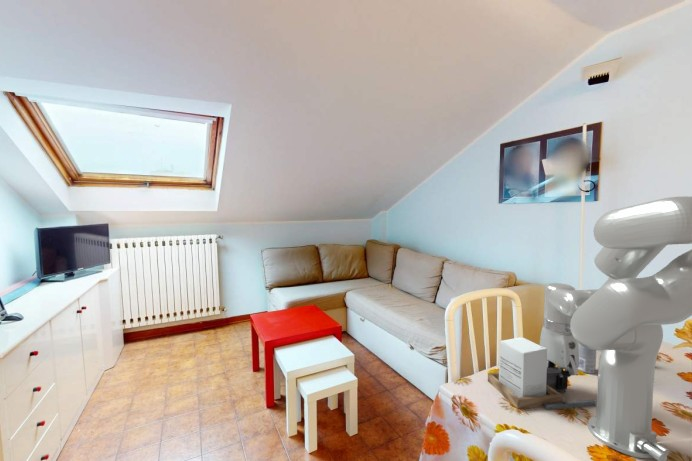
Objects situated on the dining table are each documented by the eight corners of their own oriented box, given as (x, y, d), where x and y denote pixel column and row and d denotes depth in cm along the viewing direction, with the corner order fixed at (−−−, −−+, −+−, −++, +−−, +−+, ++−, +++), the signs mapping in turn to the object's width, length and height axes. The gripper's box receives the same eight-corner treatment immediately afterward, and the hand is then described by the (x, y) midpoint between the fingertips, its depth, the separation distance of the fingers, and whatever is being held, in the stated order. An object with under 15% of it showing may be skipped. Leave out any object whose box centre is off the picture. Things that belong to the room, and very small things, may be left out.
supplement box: (520, 382, 95) (521, 336, 94) (546, 399, 87) (548, 348, 86) (497, 387, 92) (498, 339, 91) (522, 405, 84) (524, 352, 83)
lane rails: (595, 406, 83) (595, 401, 83) (546, 410, 81) (546, 405, 81) (548, 374, 100) (548, 370, 100) (506, 377, 98) (506, 373, 98)
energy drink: (588, 366, 105) (589, 332, 104) (599, 374, 100) (601, 339, 99) (571, 365, 106) (573, 332, 105) (582, 373, 100) (583, 338, 100)
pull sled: (581, 402, 84) (582, 382, 84) (517, 408, 82) (518, 387, 82) (544, 376, 98) (544, 358, 98) (487, 381, 95) (488, 362, 95)
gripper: (595, 335, 82) (592, 401, 83) (548, 315, 98) (546, 370, 99) (571, 337, 81) (568, 403, 82) (527, 316, 97) (525, 372, 98)
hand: (556, 384), depth 91 cm, fingers closed on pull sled, 3 cm apart
